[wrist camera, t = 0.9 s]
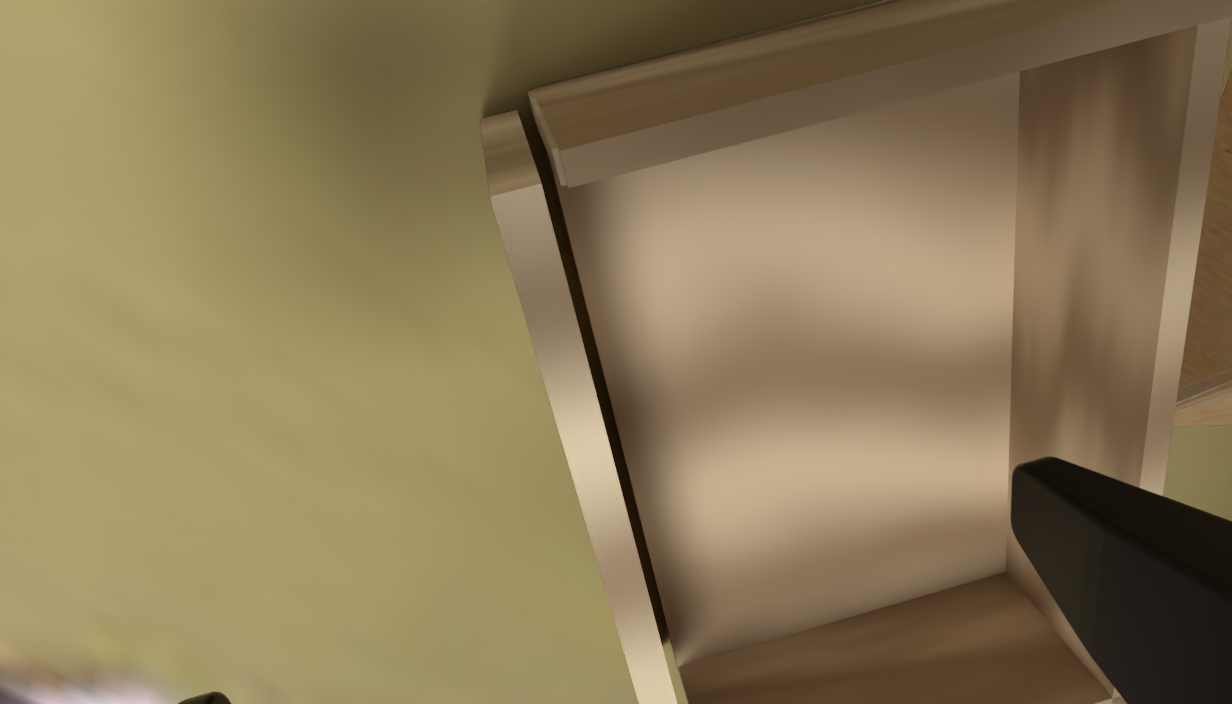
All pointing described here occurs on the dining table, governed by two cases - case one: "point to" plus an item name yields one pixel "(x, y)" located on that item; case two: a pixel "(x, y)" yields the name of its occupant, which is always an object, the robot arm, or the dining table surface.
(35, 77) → the dining table surface
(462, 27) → the dining table surface
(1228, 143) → the sandwich container
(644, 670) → the flap
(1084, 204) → the carton
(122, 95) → the dining table surface
